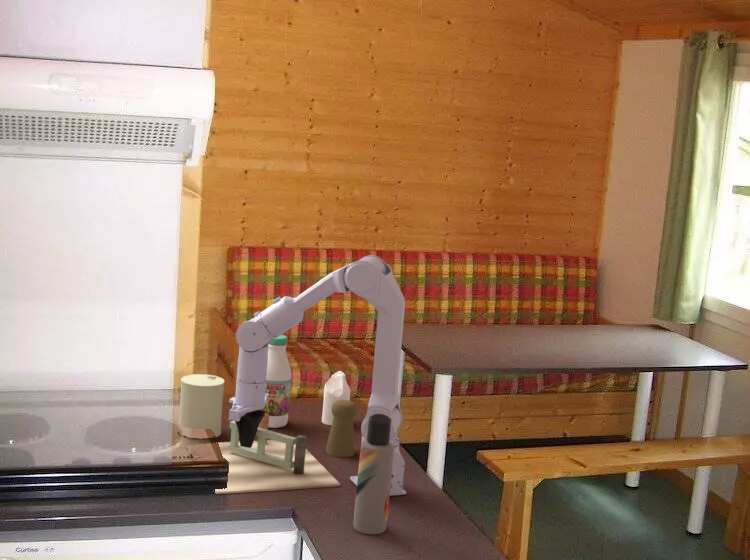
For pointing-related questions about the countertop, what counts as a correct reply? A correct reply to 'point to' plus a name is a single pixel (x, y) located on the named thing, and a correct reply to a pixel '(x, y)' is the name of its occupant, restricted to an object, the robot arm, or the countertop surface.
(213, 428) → the can
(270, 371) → the milk bottle
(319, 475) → the base
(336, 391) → the white chalk piece
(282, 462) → the bar
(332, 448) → the cork
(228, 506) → the countertop surface
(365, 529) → the lotion bottle
